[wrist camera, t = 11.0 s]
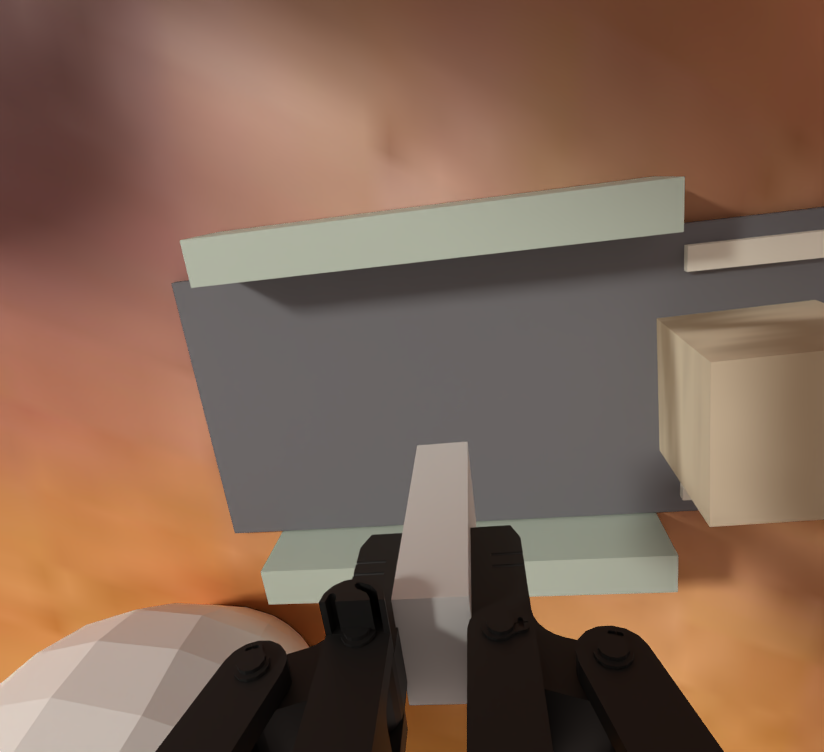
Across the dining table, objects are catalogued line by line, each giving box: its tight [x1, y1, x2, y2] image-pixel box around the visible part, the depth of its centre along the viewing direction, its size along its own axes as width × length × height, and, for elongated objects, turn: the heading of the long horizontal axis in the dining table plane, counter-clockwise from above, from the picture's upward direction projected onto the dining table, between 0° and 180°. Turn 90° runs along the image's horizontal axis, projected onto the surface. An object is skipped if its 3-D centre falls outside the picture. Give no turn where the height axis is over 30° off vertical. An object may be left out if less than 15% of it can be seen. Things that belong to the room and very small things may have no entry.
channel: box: [180, 176, 685, 605], centre depth 25 cm, size 18×17×4 cm
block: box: [657, 300, 824, 527], centre depth 22 cm, size 6×6×6 cm
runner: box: [171, 207, 824, 533], centre depth 26 cm, size 30×13×1 cm, turn 97°
